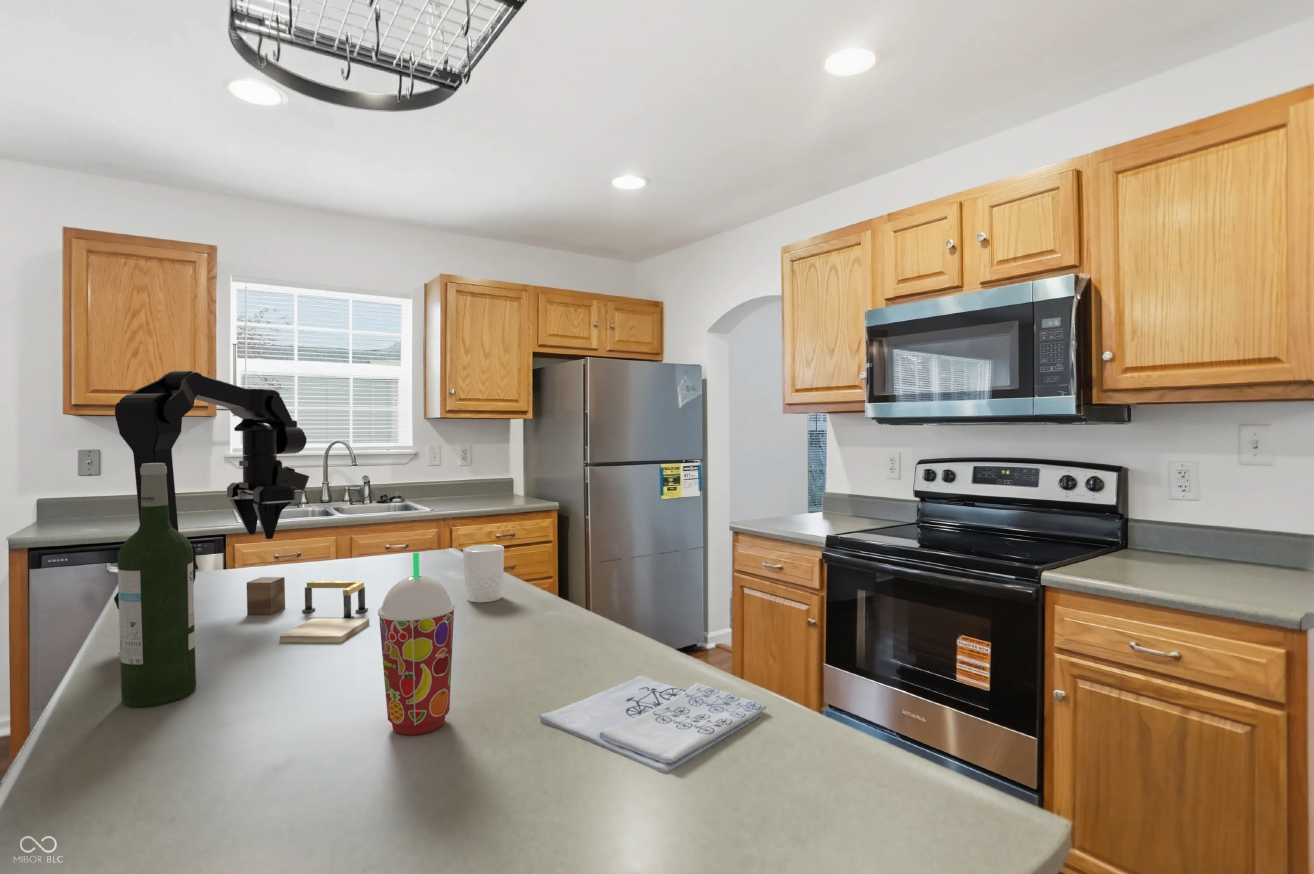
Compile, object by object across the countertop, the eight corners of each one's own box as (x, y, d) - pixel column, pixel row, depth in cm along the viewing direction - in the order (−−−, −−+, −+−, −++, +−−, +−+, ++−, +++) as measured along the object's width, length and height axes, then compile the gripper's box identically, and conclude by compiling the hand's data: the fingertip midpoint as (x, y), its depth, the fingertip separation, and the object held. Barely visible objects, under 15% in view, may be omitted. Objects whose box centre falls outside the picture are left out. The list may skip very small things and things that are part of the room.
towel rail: (349, 621, 126) (349, 590, 125) (285, 621, 126) (284, 590, 126) (368, 610, 133) (367, 581, 133) (306, 610, 133) (306, 581, 133)
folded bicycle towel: (667, 780, 71) (667, 759, 71) (535, 724, 84) (535, 706, 84) (770, 718, 85) (769, 700, 85) (643, 679, 98) (643, 663, 98)
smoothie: (380, 716, 85) (377, 549, 85) (453, 705, 88) (450, 544, 88) (379, 746, 77) (376, 562, 77) (459, 733, 80) (456, 556, 80)
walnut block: (271, 615, 130) (270, 582, 130) (247, 615, 131) (246, 582, 130) (285, 608, 135) (284, 577, 135) (262, 608, 135) (261, 576, 135)
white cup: (513, 596, 142) (512, 546, 142) (484, 605, 136) (483, 553, 135) (484, 591, 146) (484, 543, 146) (455, 600, 140) (454, 549, 140)
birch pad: (341, 642, 114) (341, 636, 114) (279, 642, 114) (279, 635, 114) (369, 624, 124) (369, 618, 124) (312, 624, 124) (312, 618, 124)
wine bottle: (210, 687, 95) (205, 461, 94) (154, 710, 87) (147, 465, 87) (164, 681, 97) (158, 461, 96) (105, 704, 90) (98, 465, 89)
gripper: (323, 454, 137) (323, 536, 137) (285, 453, 149) (286, 528, 149) (260, 456, 128) (260, 543, 129) (225, 454, 141) (226, 533, 141)
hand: (260, 536), depth 137 cm, fingers open, 9 cm apart
